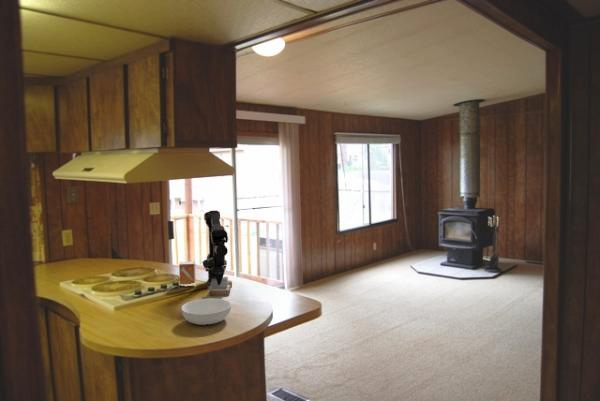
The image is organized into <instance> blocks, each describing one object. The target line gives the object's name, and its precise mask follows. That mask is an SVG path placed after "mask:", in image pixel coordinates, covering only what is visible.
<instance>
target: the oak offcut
mask: <svg viewBox="0 0 600 401" xmlns="http://www.w3.org/2000/svg"><path fill="white" fill-rule="evenodd" d="M228 285H229V286H230V288H232V287H233V280H231V279H228Z"/></svg>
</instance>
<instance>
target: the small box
mask: <svg viewBox="0 0 600 401" xmlns="http://www.w3.org/2000/svg"><path fill="white" fill-rule="evenodd" d="M178 266H179V270H178V271H179V272H178V273H179V285H180V284H191V283H195V281H196V282H197V278H196V261H181V262H179V264H178Z"/></svg>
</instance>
